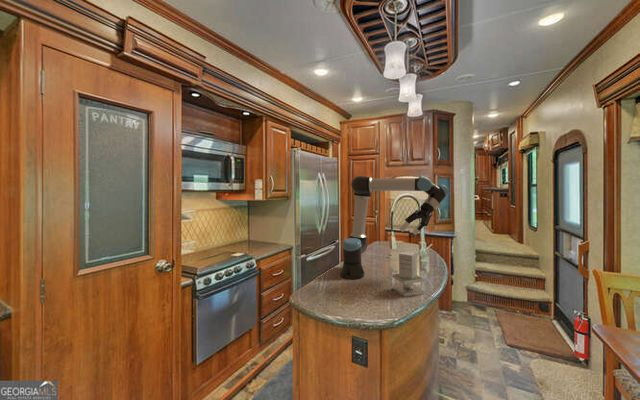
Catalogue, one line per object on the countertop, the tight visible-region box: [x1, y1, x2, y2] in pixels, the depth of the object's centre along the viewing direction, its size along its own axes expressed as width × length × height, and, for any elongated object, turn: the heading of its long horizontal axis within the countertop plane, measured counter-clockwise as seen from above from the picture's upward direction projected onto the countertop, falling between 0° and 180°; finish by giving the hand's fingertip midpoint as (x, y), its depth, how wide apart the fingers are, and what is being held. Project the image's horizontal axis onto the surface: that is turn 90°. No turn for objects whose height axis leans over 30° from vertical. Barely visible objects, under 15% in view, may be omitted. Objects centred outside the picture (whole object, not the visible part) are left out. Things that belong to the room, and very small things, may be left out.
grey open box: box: [391, 273, 425, 298], centre depth 146 cm, size 12×12×8 cm
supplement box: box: [398, 250, 418, 279], centre depth 146 cm, size 7×7×13 cm
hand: (407, 232), depth 161 cm, fingers open, 13 cm apart
